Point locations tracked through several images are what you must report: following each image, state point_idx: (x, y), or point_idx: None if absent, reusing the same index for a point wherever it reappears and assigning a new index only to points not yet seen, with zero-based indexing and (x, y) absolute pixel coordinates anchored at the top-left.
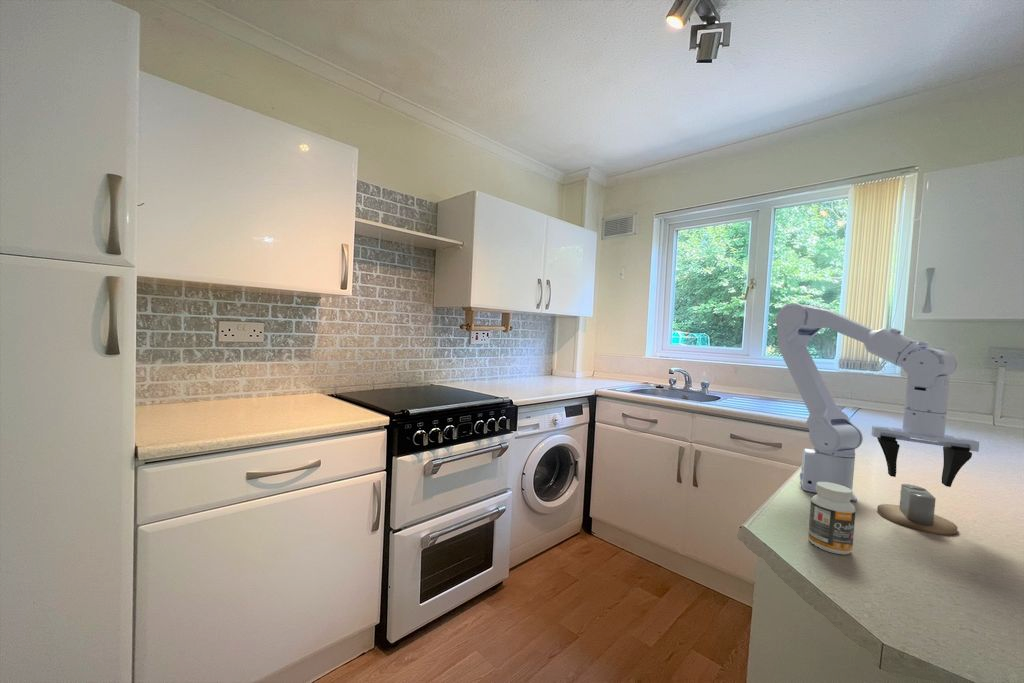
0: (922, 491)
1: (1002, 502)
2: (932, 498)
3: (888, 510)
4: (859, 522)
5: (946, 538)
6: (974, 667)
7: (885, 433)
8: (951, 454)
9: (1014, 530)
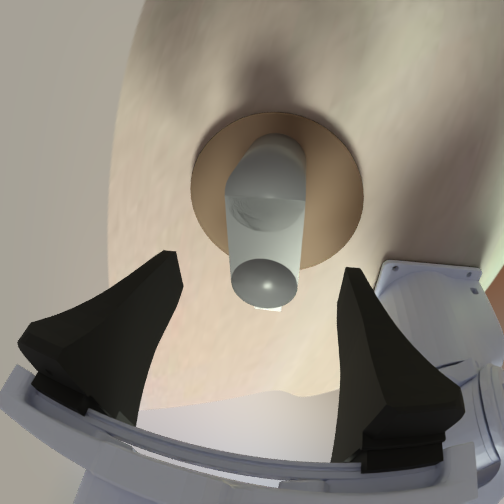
0: (248, 253)
1: None
2: (236, 177)
3: (337, 209)
4: (439, 86)
5: (233, 97)
6: None
7: (408, 485)
8: (93, 362)
9: (109, 263)
